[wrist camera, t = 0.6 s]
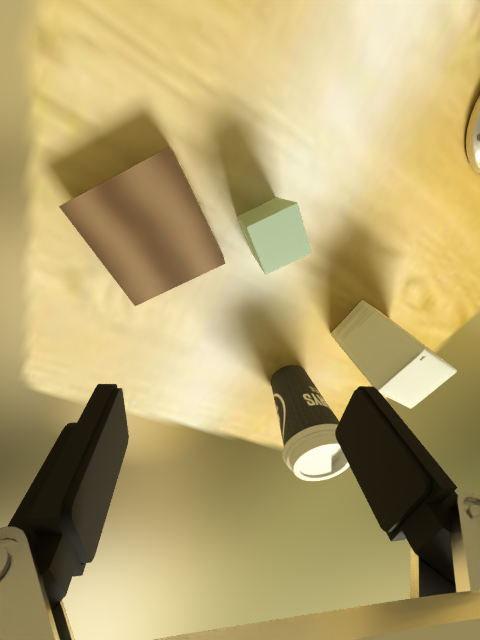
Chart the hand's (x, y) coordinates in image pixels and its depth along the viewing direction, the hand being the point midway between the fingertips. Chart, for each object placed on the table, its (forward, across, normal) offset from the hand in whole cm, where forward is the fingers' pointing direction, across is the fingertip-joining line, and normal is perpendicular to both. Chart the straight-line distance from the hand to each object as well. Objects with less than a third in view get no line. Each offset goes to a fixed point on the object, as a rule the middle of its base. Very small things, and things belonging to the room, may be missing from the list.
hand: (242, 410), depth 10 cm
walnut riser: (+25, +8, -2) cm, 26 cm away
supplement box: (+25, -24, +10) cm, 36 cm away
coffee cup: (+25, -14, +21) cm, 36 cm away
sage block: (+25, -5, -4) cm, 26 cm away
